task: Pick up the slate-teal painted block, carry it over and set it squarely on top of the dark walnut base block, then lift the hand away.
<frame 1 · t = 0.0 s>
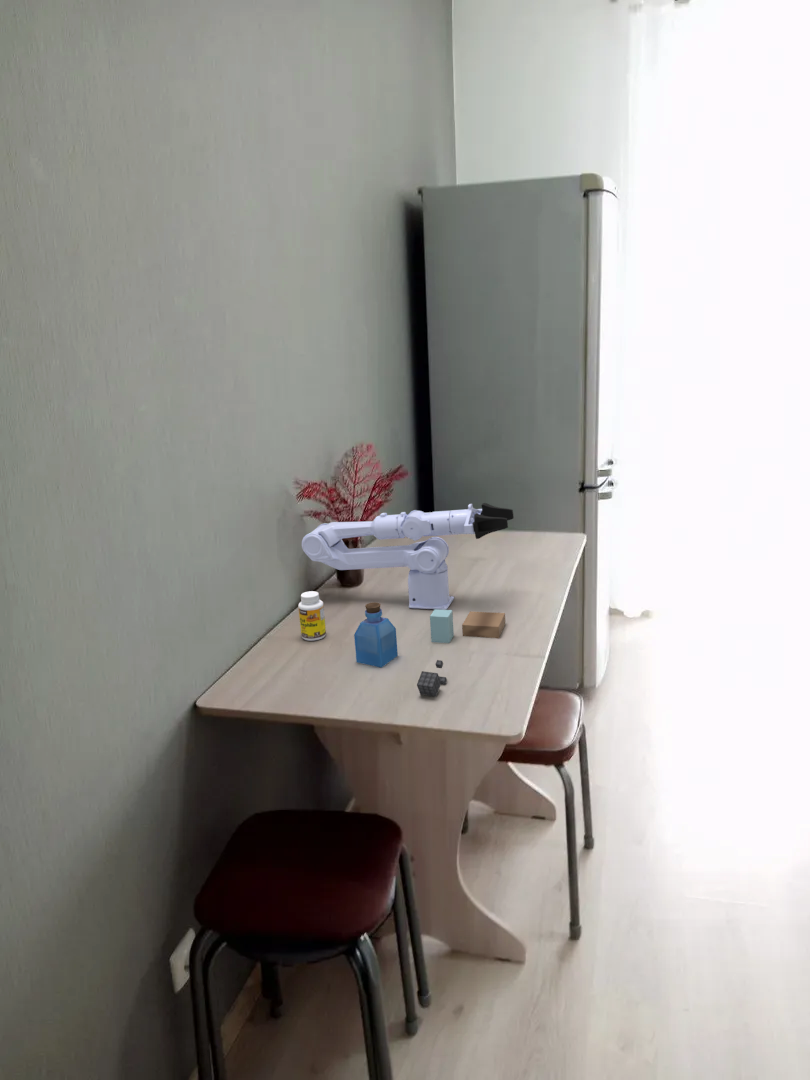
hand: (510, 518, 186), 22 cm above the table, tool horizontal, fingers open, 7 cm apart
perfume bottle: (377, 659, 170), on the table
walnut base block: (484, 631, 180), on the table
teal block: (442, 638, 177), on the table
supplement bottle: (314, 637, 183), on the table
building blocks: (433, 689, 155), on the table
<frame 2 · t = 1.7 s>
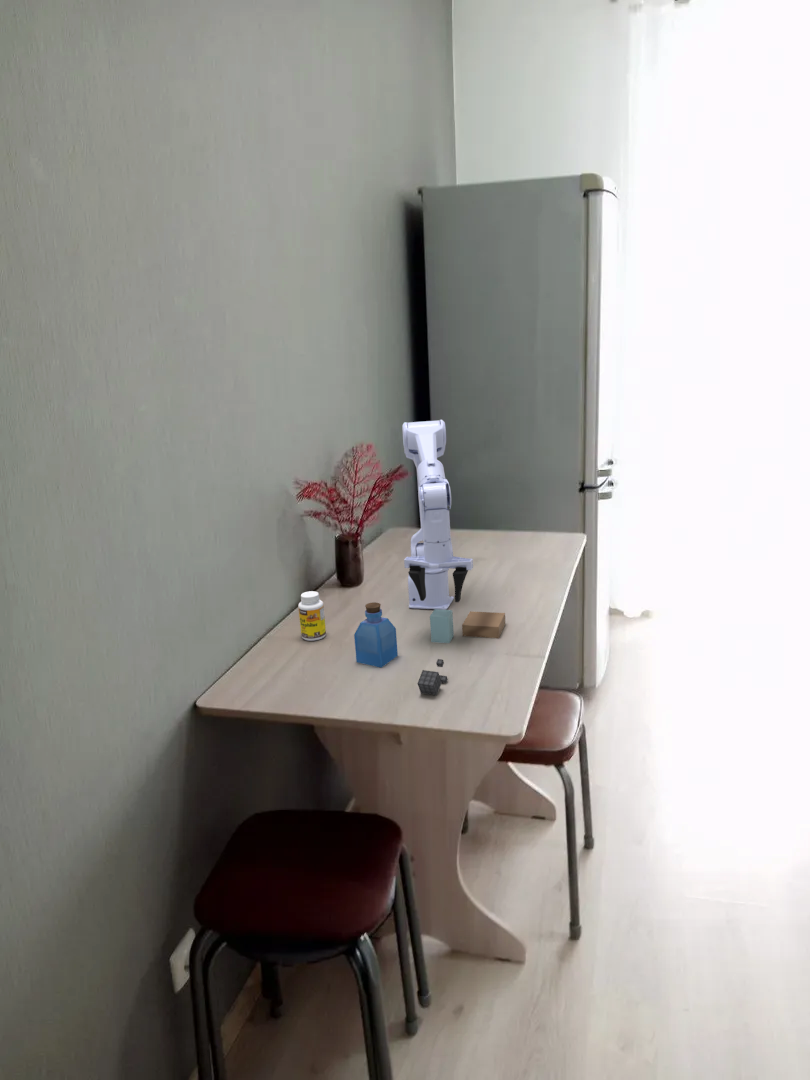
hand: (440, 599, 175), 9 cm above the table, tool pointing down, fingers open, 7 cm apart
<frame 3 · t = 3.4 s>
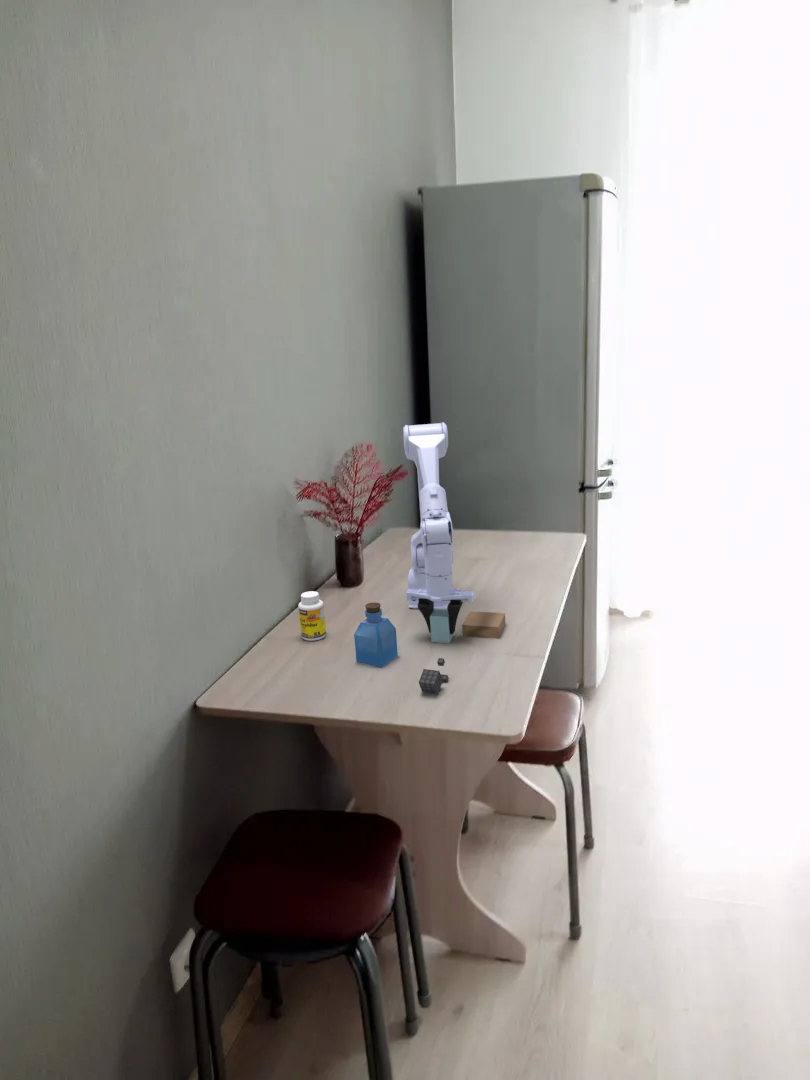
hand: (442, 631, 177), 2 cm above the table, tool pointing down, fingers closed on teal block, 4 cm apart
teal block: (442, 638, 177), on the table, touching gripper
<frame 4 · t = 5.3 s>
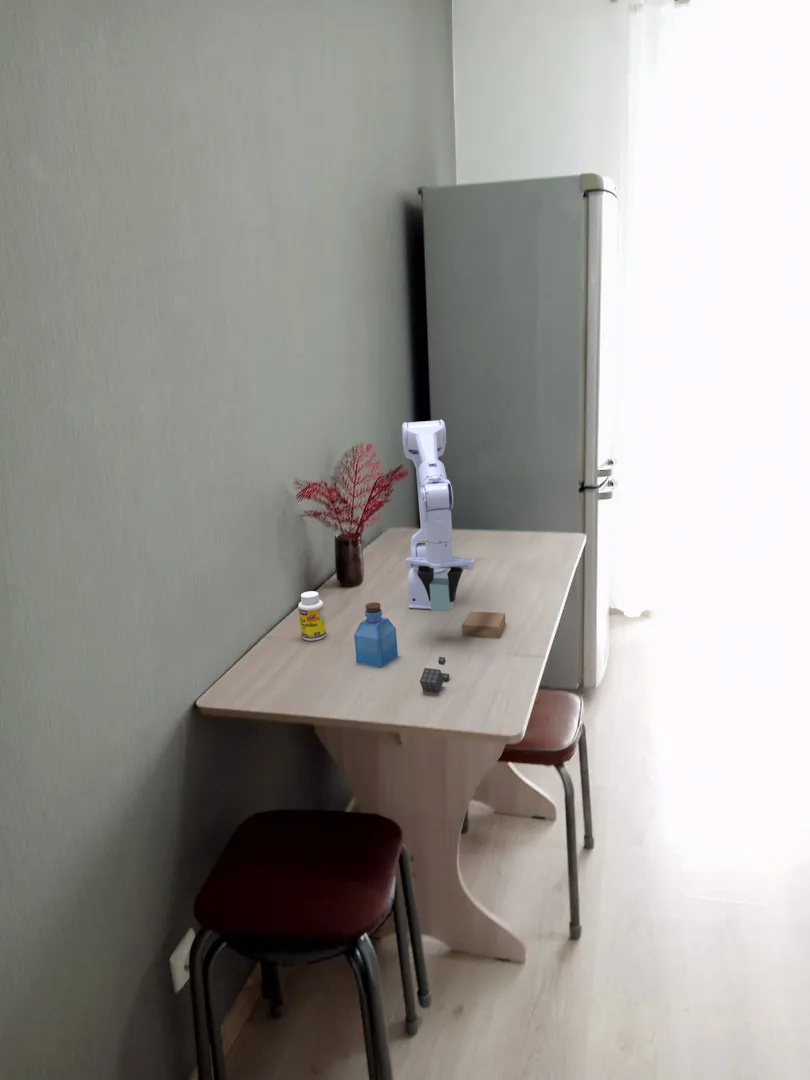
hand: (442, 600, 175), 9 cm above the table, tool pointing down, fingers closed on teal block, 4 cm apart
teal block: (442, 607, 175), point 7 cm above the table, touching gripper
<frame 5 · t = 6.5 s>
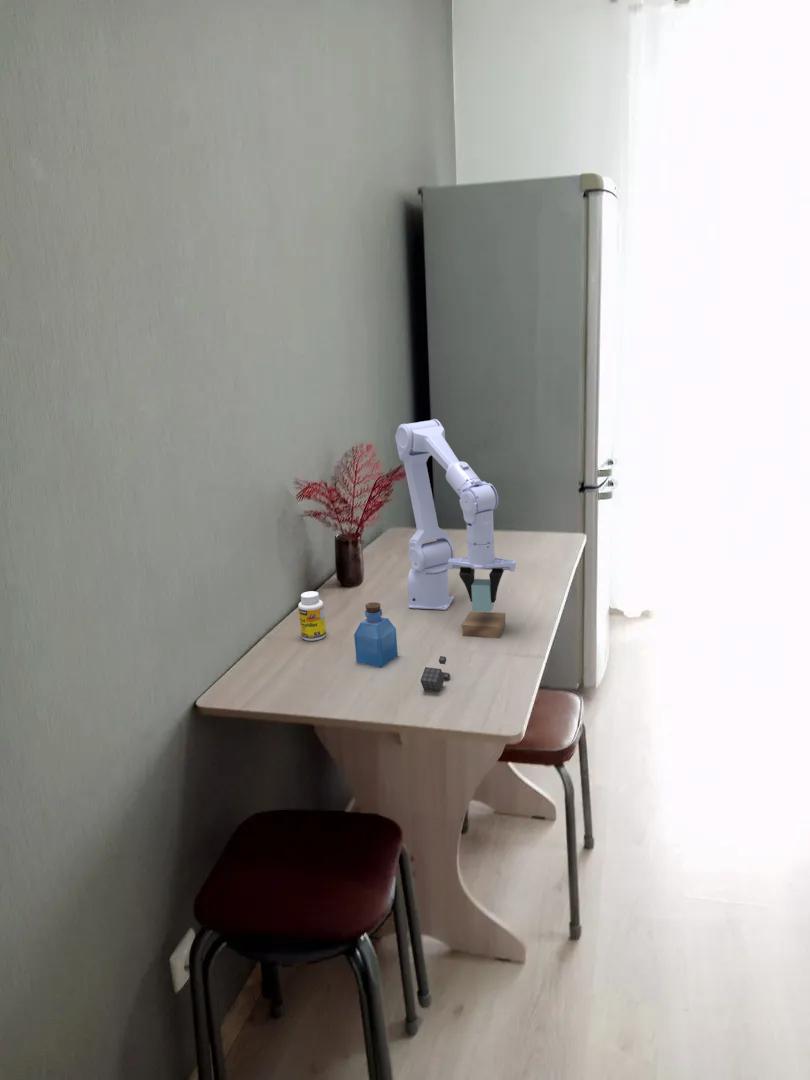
hand: (483, 600, 178), 7 cm above the table, tool pointing down, fingers closed on teal block, 4 cm apart
teal block: (483, 608, 179), point 5 cm above the table, touching gripper
when the fingers open (6 cm above the table, at t = 7.6 s): teal block drops 1 cm, point 3 cm above the table.
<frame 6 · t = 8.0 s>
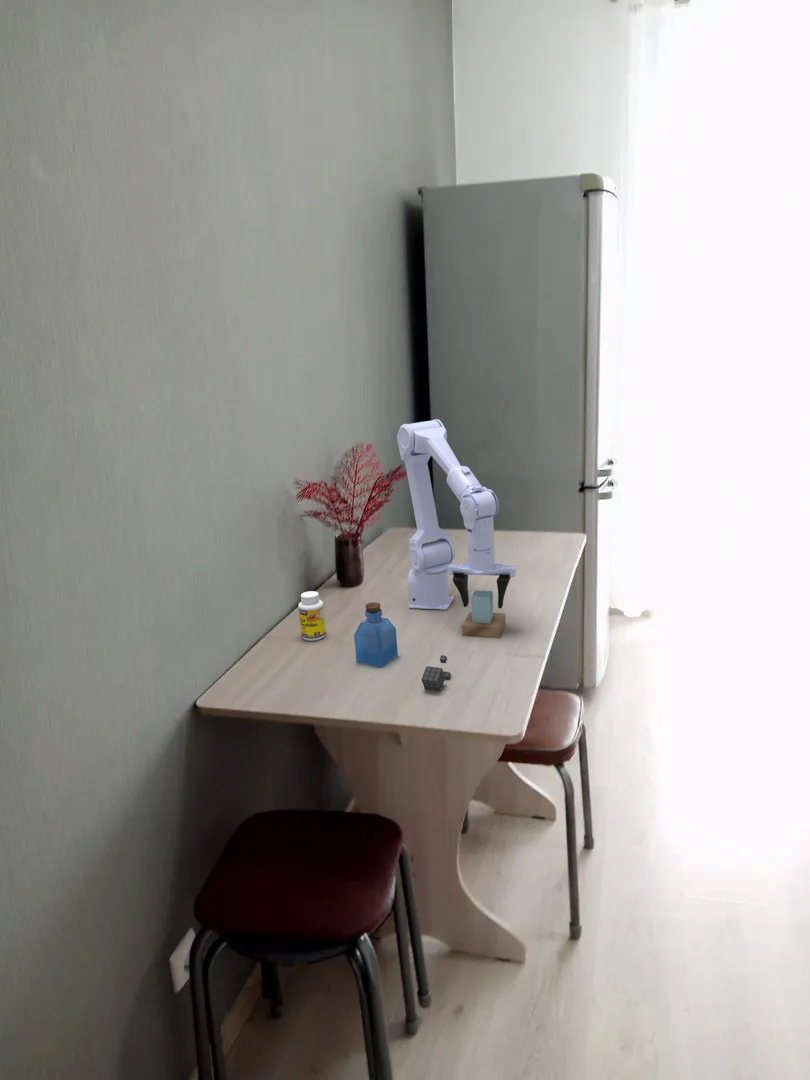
hand: (483, 606, 179), 6 cm above the table, tool pointing down, fingers open, 7 cm apart
teal block: (482, 619, 179), point 3 cm above the table
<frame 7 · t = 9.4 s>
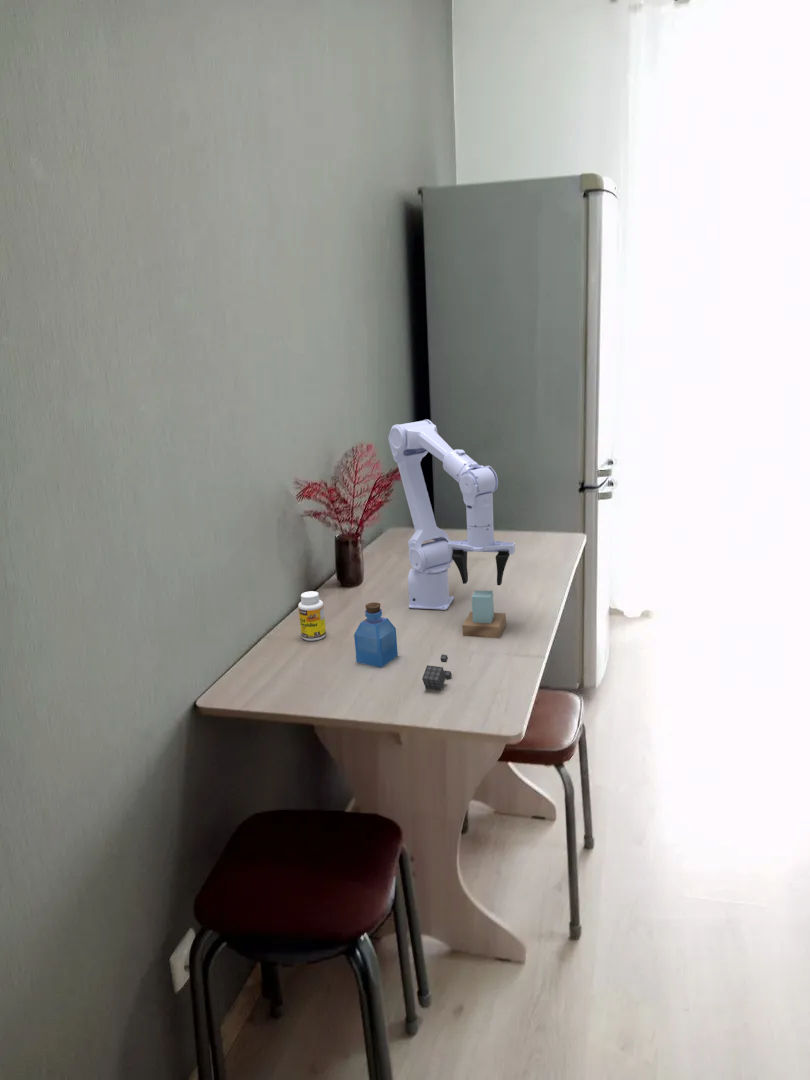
hand: (482, 583, 179), 10 cm above the table, tool pointing down, fingers open, 7 cm apart
walnut base block: (484, 631, 181), on the table, touching teal block
teal block: (483, 619, 180), point 2 cm above the table, touching walnut base block
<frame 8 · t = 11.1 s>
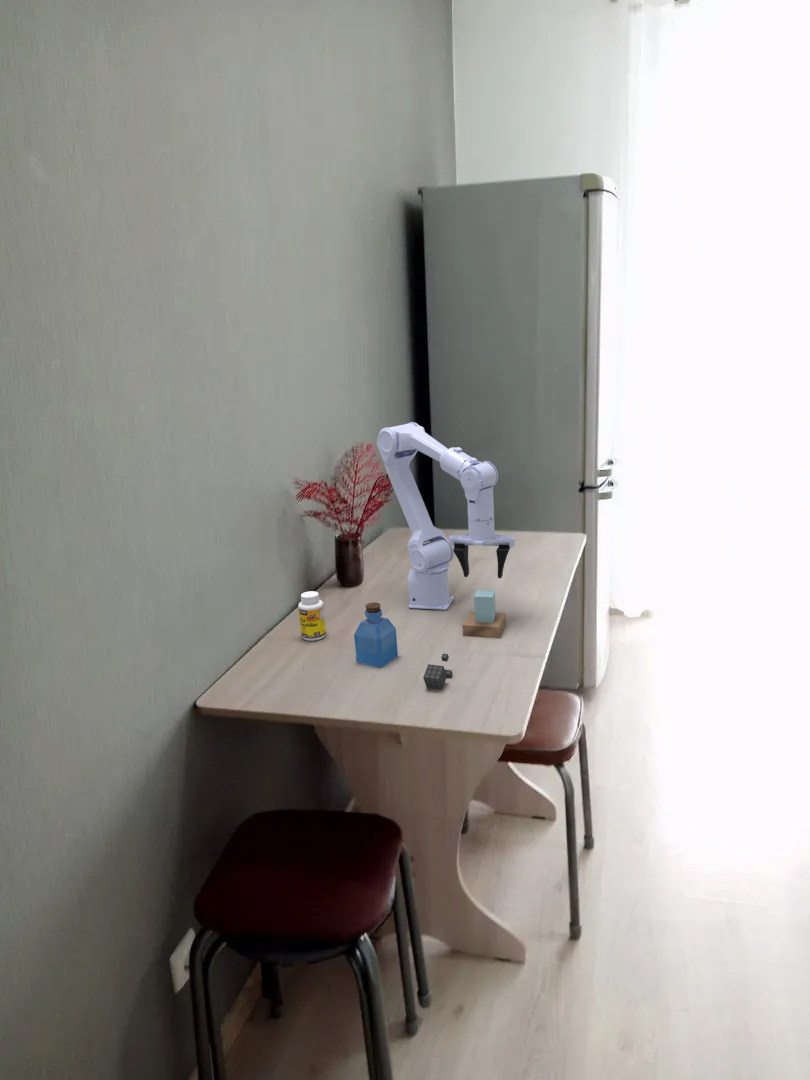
hand: (483, 576, 183), 10 cm above the table, tool pointing down, fingers open, 7 cm apart
at the end: teal block 0.2 cm off-centre on the walnut base block, point 3.0 cm above the walnut base block's base; teal block tilted 1°; the gripper is holding nothing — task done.
